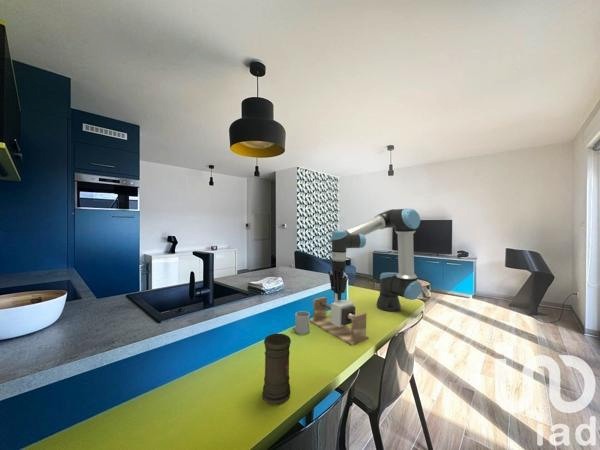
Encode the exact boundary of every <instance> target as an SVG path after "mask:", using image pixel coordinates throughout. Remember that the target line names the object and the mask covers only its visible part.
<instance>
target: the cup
mask: <svg viewBox="0 0 600 450" xmlns="http://www.w3.org/2000/svg"><path fill="white" fill-rule="evenodd" d="M310 316H311V314H310V312H308V311H305V310H304V311H301V310H300V311H297V312H295V317H294V319H295V322H294V323H295V324H294V325H295V328H294V329H295V330H294V332H295V333H296V334H298V335H307V334H309V333H310V323H311V322H310V318H311V317H310Z"/></svg>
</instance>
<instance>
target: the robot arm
mask: <svg viewBox="0 0 600 450" xmlns="http://www.w3.org/2000/svg"><path fill="white" fill-rule="evenodd" d="M420 224H421V217H420V214H419V213H418V212H417V210H415V209H413V208H396V209H388V210H386V211H383V212H380V213H378V214H376V215H374V216H373V218H371V219H369V220H365V221H363V222H362V223H358V224H356V225H354V226H351V227H349V228H348V229H345V230H341V229H339V230H338V229H334V230H332V233H331V236H330V241H331V255H330V256H331V260H330V261H331V263H330V267H331V270H330V271H328V273H327V274H328V276H329V283H330V289H331V290H330V291H333V299H334V302H338V301H342V294H345V292H346V288H347V285H348V279H349V278H350V276H349V275H347V273H346V268H347V261H346V260H347V249H362V248H364V247H365V246H366V245H367V238H366V235H368V234H371V233H373V232H376V231H377V230H384V229H388V228H394V232H395V233H396V235H397V259H398V260H397V261H398V272H389V271H388V272H382V273H381V274H380V275H379V295H378V299H377V301H376V308H378V309H380V310H381V311H386V312H393V313H395V312H400V311H402V304H401V303H400V302H401V301H400V298H399V297H401V298H403V299H406V300H409V301H413V300H416V299H418V298H419V296H420V295H421V294H422V290H423V286H422V283H421V282H420V281H419V280H418V276H417V275H416V274H415V262H414V261H415V259H414V257H415V256H414V253H415V252H414V234H415V233H416V231H417V230H416V229H418V228H419V226H420Z"/></svg>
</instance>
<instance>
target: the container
mask: <svg viewBox="0 0 600 450" xmlns="http://www.w3.org/2000/svg"><path fill="white" fill-rule="evenodd" d="M291 342H292V339H291V338H290V336H289V335H287V334H285V333H272V334H269V335H267V336H266V337H265V338H264V340H263V344H264V349H265V351H264V355H265V356H264V357H265V358H264V360H265V361H264V377H263V381H264V383H263V387H262V398H263V400H264V401H265V403H267V404H269V405H271V406H277V405H282V404H284V403H285V402H287V401H288V400H289V399H290V396H291V385H290V353H291V352H290V346H291Z"/></svg>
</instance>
